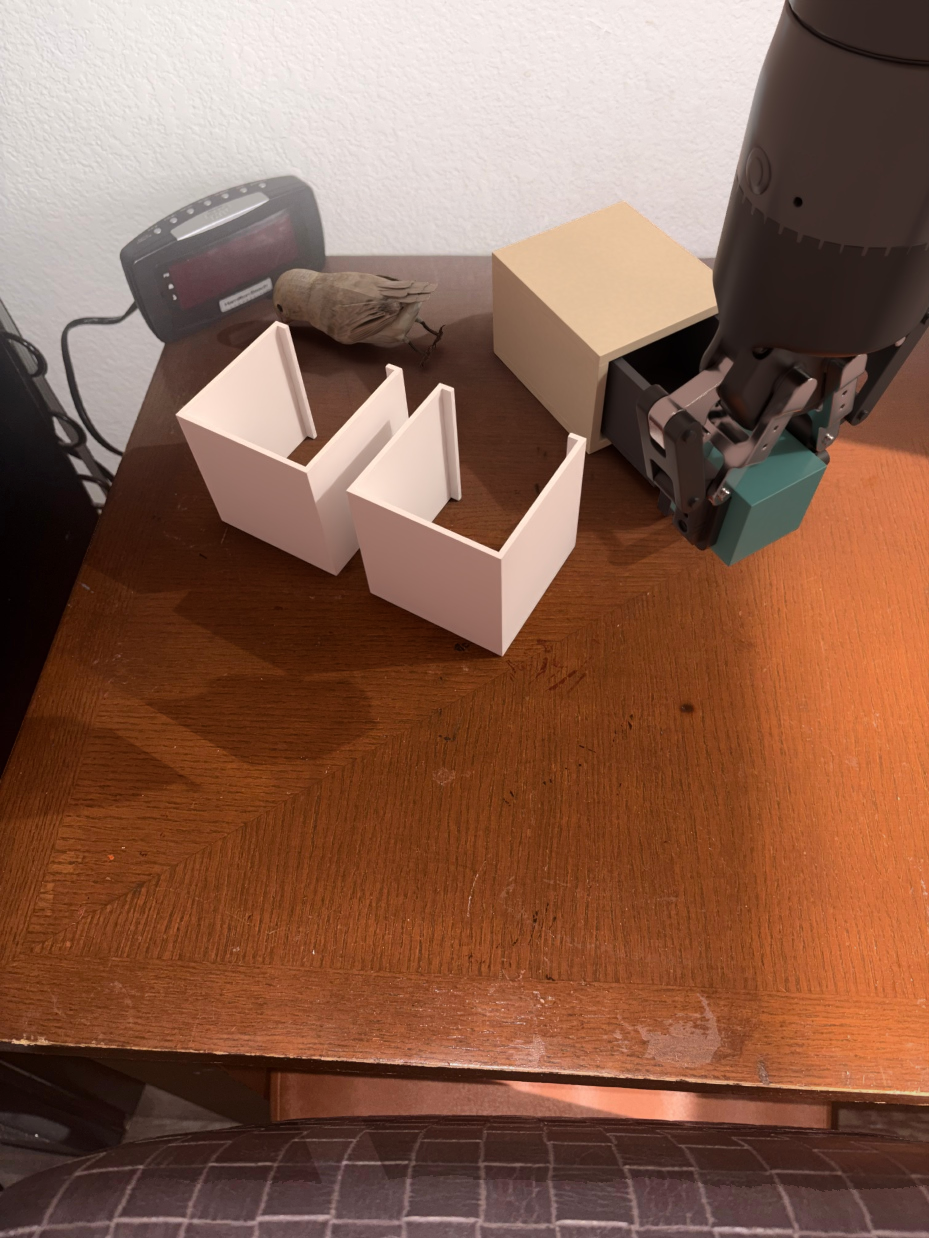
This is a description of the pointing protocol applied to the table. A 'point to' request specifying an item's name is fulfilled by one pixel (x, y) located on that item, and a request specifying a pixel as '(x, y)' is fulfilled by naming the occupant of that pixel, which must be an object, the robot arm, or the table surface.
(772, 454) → the block
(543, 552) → the white desk organizer
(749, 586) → the table surface
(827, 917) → the table surface
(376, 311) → the decorative bird
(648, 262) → the beige hollow box
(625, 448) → the drawer
